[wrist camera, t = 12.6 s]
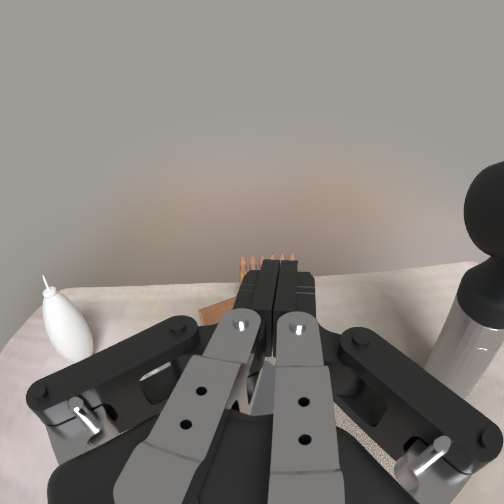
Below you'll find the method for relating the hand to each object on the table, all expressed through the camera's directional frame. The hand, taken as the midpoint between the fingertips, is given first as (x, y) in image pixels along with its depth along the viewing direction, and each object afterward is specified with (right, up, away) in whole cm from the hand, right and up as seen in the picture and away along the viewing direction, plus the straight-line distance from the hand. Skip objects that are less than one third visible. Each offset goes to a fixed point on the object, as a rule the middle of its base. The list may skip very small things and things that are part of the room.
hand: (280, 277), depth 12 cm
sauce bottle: (-32, -19, +29) cm, 47 cm away
